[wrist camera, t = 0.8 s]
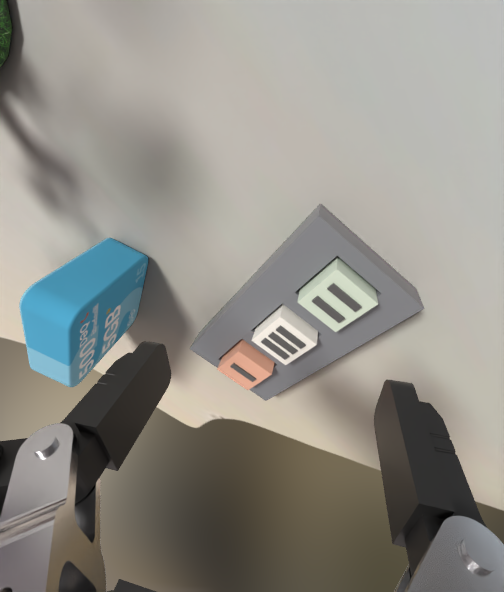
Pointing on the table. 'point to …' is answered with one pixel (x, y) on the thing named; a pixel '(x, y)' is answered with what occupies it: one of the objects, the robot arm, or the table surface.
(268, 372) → the button one
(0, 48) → the bonsai tree
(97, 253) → the data package
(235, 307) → the button panel
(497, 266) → the table surface
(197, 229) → the table surface
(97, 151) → the table surface
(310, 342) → the button three
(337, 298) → the button two
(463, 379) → the table surface
